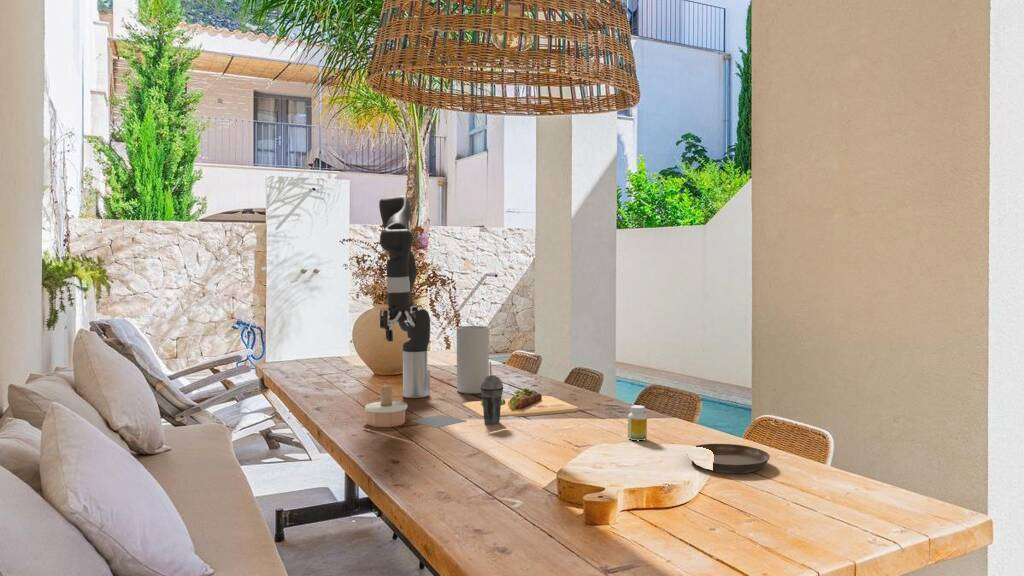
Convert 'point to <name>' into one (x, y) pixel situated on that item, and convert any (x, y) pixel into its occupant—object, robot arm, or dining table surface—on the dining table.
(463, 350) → the cylinder vase
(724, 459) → the plant saucer
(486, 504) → the dining table surface
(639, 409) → the supplement bottle
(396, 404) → the lid
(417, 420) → the mat
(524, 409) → the cutting board
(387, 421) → the bowl
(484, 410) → the beverage cup
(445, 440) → the dining table surface
